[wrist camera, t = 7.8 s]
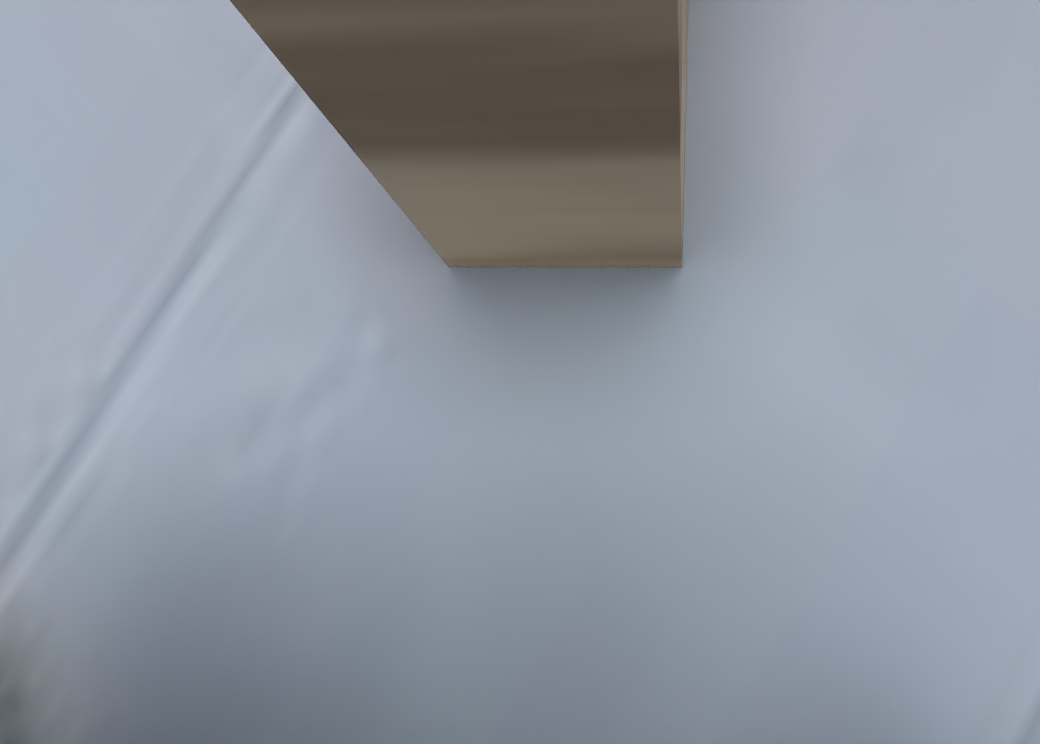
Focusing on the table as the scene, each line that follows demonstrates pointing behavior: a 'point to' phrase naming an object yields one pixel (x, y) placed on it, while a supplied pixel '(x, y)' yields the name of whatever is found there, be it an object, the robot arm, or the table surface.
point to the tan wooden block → (506, 119)
